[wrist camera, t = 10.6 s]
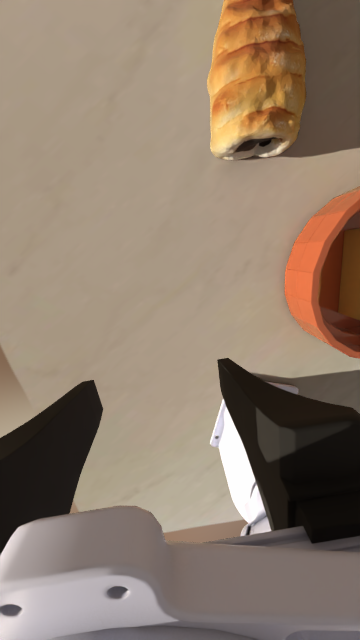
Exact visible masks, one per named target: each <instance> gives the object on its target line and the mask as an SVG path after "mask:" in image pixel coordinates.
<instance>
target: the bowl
mask: <svg viewBox="0 0 360 640" xmlns="http://www.w3.org/2000/svg"><path fill="white" fill-rule="evenodd" d="M357 228H360V186H358V187H356V188H354V189H352V190H350V191H348V192H346V193H344V194H342V195H340V196H338V197H335V198H334V199H332V200H331V201H330V202H329V203H328V204H327V205H325V206H324V207H323V208H322V209H321V210H320V211H319V212H318V213H316V214H315V215H314V216H313V217H312V218H311V219H310V220H309V221H308V223H307V224H306V226H305V227H304V229H303V230H302V232H301V233H300V235H299V236H298V238H297V239H296V241H295V242H294V245H293V248H292V251H291V254H290V257H289V260H288V263H287V266H286V270H285V296H286V299H287V303H288V306H289V309H290V312H291V314H292V316H293V317H294V318H295V320H296V321H297V322H298V324H299V325H300V326H301V327H302V329H303V330H305V331H306V332H308V333H310V334H311V335H313V336H315V337H317V338H318V339H320V340H322V341H323V342H325V343H327V344H329V345H330V346H332V347H334V348H336V349H337V350H339V351H341V352H343V353H344V354H346V355H348V356H350V357H354V358H360V320H357V319H354V318H351V317H348V316H346V315H343V314H340V313H338V308H339V295H340V283H341V270H342V258H343V245H344V232H345V230H351V229H357Z"/></svg>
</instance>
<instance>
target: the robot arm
mask: <svg viewBox="0 0 360 640" xmlns="http://www.w3.org/2000/svg"><path fill="white" fill-rule="evenodd" d="M218 369H219V378H220V387H221V392H222V395H223V401H222V404H221V407H220V411H219V414H218V417H217V420H216V424H215V427H214V430H213V434H212V437H211V440H210V444H211V446H213V447H219V451H220V455H221V458H222V462H223V466H224V470H225V474H226V478H227V482H228V486H229V490H230V493H231V497H232V500H233V502H234V504H235V506H236V508H237V510H238V511H239V513H240V514H241V515H242V517H243V518H244V519H245V520H246V521H247V522H248V523H249V524H247V525H246V526H245V527H244V528H243V529H242V532H241V536H239V537H233V538H227V539H221V540H215V541H209V542H203V543H196V542H178V541H166V540H165V538H164V535H163V531H162V527H161V525H160V524H159V522H158V521H157V520H156V518H155V517H154V515H153V514H152V513H151V512H149V511H147V510H144V509H142V508H140V507H137V506H114V507H108V508H102V509H96V510H90V511H84V512H78V513H72V514H69V513H70V509H71V505H72V502H73V498H74V494H75V491H76V488H77V484H78V481H79V477H80V474H81V471H82V468H83V466H84V463H85V461H86V458H87V456H88V453H89V451H90V448H91V445H92V443H93V440H94V438H95V435H96V433H97V430H98V427H99V424H100V420H101V416H102V412H103V407H102V404H101V401H100V398H99V395H98V392H97V389H96V386H95V383H94V380H90V381H84V382H82V383H80V384H79V385H77V386H76V387H74V388H73V389H72V390H70V391H69V392H68V393H66V394H65V395H64V396H62V397H61V398H60V399H59V400H57V401H56V402H55V403H53V404H52V405H51V406H49V407H48V408H46V409H45V410H44V411H42V412H41V413H39V414H38V415H37V416H35V417H34V418H32V419H31V420H29V421H28V422H26V423H25V424H23V425H22V426H20V427H18V428H17V429H15V430H13V431H12V432H10V433H8V434H7V435H5V436H3V437H1V438H0V640H360V414H359V413H358V412H357V411H356V410H354V409H353V408H351V407H345V406H340V405H335V404H330V403H325V402H321V401H317V400H313V399H310V398H306V397H303V396H300V395H297V394H298V391H299V390H298V388H297V387H296V386H292V385H285V384H279V383H272V382H265V381H263V380H261V379H260V378H258V377H256V376H254V375H253V374H251V373H249V372H248V371H246V370H245V369H243V368H242V367H240V366H239V365H237V364H236V363H234V362H233V361H232V360H230V359H229V358H225V359H219V360H218Z"/></svg>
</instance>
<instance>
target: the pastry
mask: <svg viewBox="0 0 360 640" xmlns="http://www.w3.org/2000/svg"><path fill="white" fill-rule="evenodd" d="M305 67H306V58H305V53H304V44H303V42H302V40H301V35H300V28H299V24H298V22H297V19H296V12H295V10H294V6H293V0H224V2H223V6H222V12H221V18H220V21H219V26H218V30H217V33H216V36H215V39H214V46H213V58H212V65H211V70H210V72H209V75H208V80H207V87H208V92H209V95H210V108H211V117H210V128H211V143H210V147H211V150H212V153H213V154H214V155H215V156H216V157H219V158H221V159H226V160H239V159H242V158H248V157H251V156H253V155H257V156H260V157H272V156H277V155H279V154H281V153H282V152H284V151H285V150H286V149H288V148H289V147H290V146H291V145H292V144H293V143H294V141H295V140H296V139H297V136H298V131H299V128H300V123H299V122H300V120H301V113H302V110H303V107H304V104H305V99H306V88H305V72H306V69H305Z"/></svg>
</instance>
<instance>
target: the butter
mask: <svg viewBox="0 0 360 640" xmlns="http://www.w3.org/2000/svg"><path fill="white" fill-rule="evenodd" d="M338 313H340V314H343V315H346V316H348V317H351V318H354V319H357V320H360V228H357V229H351V230H345V232H344V245H343V258H342V270H341V283H340V295H339V308H338Z"/></svg>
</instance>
